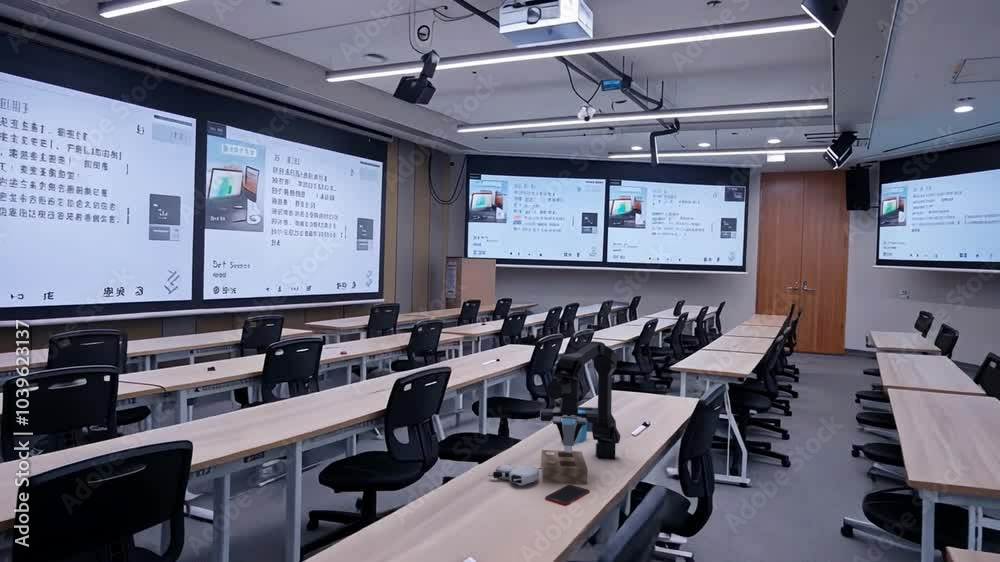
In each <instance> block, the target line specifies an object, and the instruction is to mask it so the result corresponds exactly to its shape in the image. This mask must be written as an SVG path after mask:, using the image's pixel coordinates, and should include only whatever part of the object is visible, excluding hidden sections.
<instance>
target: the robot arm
mask: <svg viewBox="0 0 1000 562" xmlns="http://www.w3.org/2000/svg"><path fill="white" fill-rule="evenodd" d="M591 360H592V361H593V368H594V370H595V372H596V373H597V408H598V413H597V412H596V411H595V410H585V413H578V407H579V394H580V393H579V391H580V389H579V386H580V380H582V376H581V373H582V372H583V371H584V370H585V365H586V364H587V363H589V362H591ZM618 360H619V356H618V354H617V353H616V352H615V350H614V349H613V348H610V347H609V346H607V345H606V344H605V343H604V342H602V341H594V340H591V341H589V342H588V344H586V345H585V346H583V347H582V348H580V349H579V350H577V351H575V352H574V353H566V354H563V355H562V356H560V357H559V359H558V361H557V364H556V366H555V368H554V372H553V374H552V378H551V381H550V382H548V383H547V385H546V388H545V392H546V395H547V396H548V398H550V399H551V400H554V408H559V411H553V408H541V409H540V412H539V418H540V420H539V421H542V422H551V421H552V424H554V425H556V427H557V430H558V432H559V435H560V439H561V443H562V442H563V427H562V418H569V419H575V429H574V442H575V440H576V438H577V436H578V433H579V431H580V429H581V428H582V426H583V425H586V422H585V420H586V419H587V421H588V422H589V423H592V432H591V433H592V439H593V440H594V441H596V443H595V452H594V453H595V456H596V458H597V459H598V460H615V461H617V457H616V444H619V443H620V441H621V434H620V432H619V430H618V427H617V423H616V419H615V418H614V416H613V414H612V393H613V391H612V389H613V388H612V387H613V385H612V381H613V378H612V377H613V373H614V372H615V370H616V369H617V364H618ZM564 415H567V416H564ZM571 415H573V416H571Z"/></svg>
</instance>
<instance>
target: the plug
mask: <svg viewBox="0 0 1000 562" xmlns="http://www.w3.org/2000/svg"><path fill="white" fill-rule="evenodd" d="M562 446H563V449H564V450H563V451H571V452H572V451H573V447H574V446H575V444H574V425H565V424H563V443H562Z"/></svg>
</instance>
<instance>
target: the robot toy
mask: <svg viewBox="0 0 1000 562" xmlns="http://www.w3.org/2000/svg"><path fill="white" fill-rule="evenodd" d="M542 469H543V467H542V466H541V467H537V466H532V465H521V466H518V467H515V466H514V465H511V464H502V465H500V466H499V467H496V468H495V471H493V472H488V477H491V478H492V477H493V479H500V480H504V481H505V480H509V481H510V482H511V483H513V484H516V485H517V486H519V487H522V486H523V487H524V486H526V484H531V483H533V482H536V481H537V479H538V478H539V477H540V470H542Z"/></svg>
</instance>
